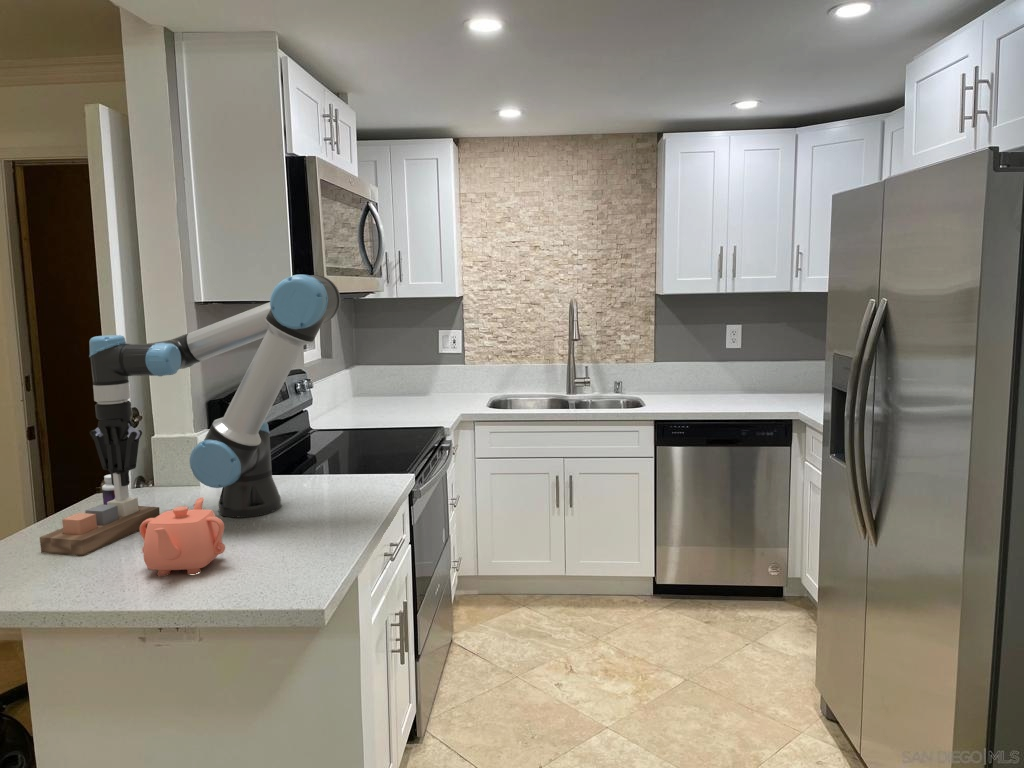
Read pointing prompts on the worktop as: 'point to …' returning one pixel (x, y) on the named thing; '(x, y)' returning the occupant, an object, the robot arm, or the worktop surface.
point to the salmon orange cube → (79, 523)
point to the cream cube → (125, 506)
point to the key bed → (96, 534)
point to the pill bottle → (108, 490)
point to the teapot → (182, 539)
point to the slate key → (104, 513)
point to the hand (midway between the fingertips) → (122, 498)
